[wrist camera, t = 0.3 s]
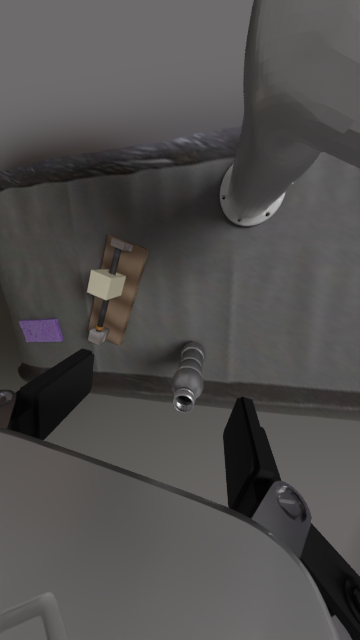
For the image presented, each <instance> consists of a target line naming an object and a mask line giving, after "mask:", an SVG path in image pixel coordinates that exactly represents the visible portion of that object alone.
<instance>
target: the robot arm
mask: <svg viewBox="0 0 360 640" xmlns="http://www.w3.org/2000/svg"><path fill="white" fill-rule="evenodd" d="M243 80H244V81H243V88H244V89H243V90H244V91H243V93H244V117H243V123H242V128H241V132H240V137H239V141H238V146H237V151H236V155H235V160H234V163H233V164H232V165H231V166H230V168H229V169H228V171H227V172H226V174H225V176H224V178H223V180H222V184H221V188H220V205H221V208H222V211H223V212H224V214H225V216H226V217H227V218H228V219H229V220H230V221H231V222H233V223H234V224H236V225H239V226H243V227H250V226H256V225H258V224H261V223H263V222H264V221H266V220H267V219H269V218H270V217H271V216H272V215H273V214H274V213H275V212H276V211H277V209H278V208H279V207H280V205H281V203H282V201H283V199H284V196H285V193H286V191H287V190H288V189H289V188H290V187H291V186H292V185H293V184H294V183H295V182H296V181H297V180H298V179H299V178H300V177H301V176H302V174H303V173H304V172H305V171H306V170H307V169H308V168H309V167H310V166H311V165H312V164H313V163H314V161H315V160H316V159H317V157H318V156H319V154H320V152H326V153H328V154H330V155H332V156H334V157H336V158H339V159H341V160H343V161H345V162H347V163H349V164H351V165H353V166H355V167H358V168H360V0H254V2H253V6H252V11H251V16H250V22H249V28H248V35H247V41H246V49H245V59H244V79H243ZM222 198H225V199H224V200H223V199H222ZM266 214H267V215H268V216H266ZM238 220H240V222H238ZM93 363H94V354H92V351H90V350H86V349H81V350H79V351H77V352H76V353H74V354H73V355H71V356H70V357H68V358H66V359H65V360H63V361H62V362H60V363H59V364H57V365H56V366H54V367H52V368H51V369H49V370H48V371H46V372H45V373H43V374H41V375H40V376H38V377H37V378H35V379H34V380H32V381H30V382H29V383H27V384H26V385H24V386H23V387H21V388H20V390H19V391H17V392H16V393H15V391H12V390H9V389H1V390H0V640H360V576H359V575H358V574H357V573H356V572H355V571H354V570H353V569H352V568H351V566H350V565H349V564H348V563H347V562H346V561H345V560H344V559H343V558H342V556H341V555H340V554H339V553H338V552H337V551H336V550H335V549H334V548H333V547H332V545H331V544H330V543H329V542H328V541H327V540H326V539H325V538H324V537H323V536H322V534H321V533H320V532H319V531H318V530H317V529H316V528H315V527H314V526H313V525H312V523H311V519H312V517H311V513H310V510H309V508H308V505H307V503H306V502H305V500H304V499H303V497H302V496H301V495H300V493H299V492H298V491H297V490H296V489H295V488H293V487H292V486H291V485H289V484H288V483H286V482H283V481H281V478H280V475H279V472H278V469H277V466H276V463H275V460H274V457H273V454H272V451H271V448H270V445H269V442H268V439H267V436H266V433H265V430H264V429H263V428H262V427H260V424H259V420H258V417H257V414H256V410H255V407H254V404H253V401H252V399H249V398H245V397H241V398H238V399H237V401H236V403H235V405H234V408H233V410H232V413H231V415H230V418H229V420H228V423H227V425H226V427H225V430H224V434H223V440H224V454H225V468H226V482H227V494H228V506H229V508H228V507H225V506H223V505H221V504H218V503H215V502H213V501H210V500H207V499H205V498H202V497H200V496H197V495H194V494H192V493H189V492H187V491H184V490H181V489H178V488H176V487H173V486H170V485H167V484H164V483H162V482H159V481H156V480H154V479H151V478H148V477H145V476H142V475H140V474H137V473H134V472H131V471H129V470H126V469H123V468H120V467H118V466H115V465H112V464H109V463H106V462H104V461H101V460H98V459H95V458H92V457H90V456H86V455H84V454H81V453H78V452H75V451H72V450H70V449H67V448H64V447H61V446H58V445H55V444H52V443H50V442H47V441H43V440H44V439H45V438H46V437H47V436H48V435H49V434H50V433H51V432H52V431H53V430H54V429H55V428H56V427H57V426H58V425H59V424H60V423H61V422H62V421H63V419H64V418H66V416H67V415H68V414H69V413H70V412H71V411H72V410H73V409H74V408H75V407H76V406H77V405H78V404H79V403H80V402H81V401H82V400H83V399H84V398H85V397H86V396H87V395H88V394H89V392H90V390H91V387H92V375H93Z"/></svg>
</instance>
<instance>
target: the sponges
mask: <svg viewBox="0 0 360 640" xmlns="http://www.w3.org/2000/svg"><path fill="white" fill-rule="evenodd" d="M19 323H20V326H21V328H22V329H23V333H24V336H25V339H26V342H36V341H37V342H59V341H62V339H63V336H62V333H61V330H60V328H59V324H58V320H57V319H40V320H22V321H19Z"/></svg>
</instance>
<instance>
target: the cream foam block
mask: <svg viewBox="0 0 360 640" xmlns="http://www.w3.org/2000/svg"><path fill="white" fill-rule="evenodd" d="M109 272H110V269H101V270H91V274H90V279H89V284H88V289H87V292H88V293H90V294H92V295H95V296H97V297H99V298H102V299H104V300H109V299H112V298H115V297H118V296H121V294H122V290H123V286H124V283H125V279H126V276H124V275H122V274H119V273H117V272H116V275H112V274H110V273H109Z"/></svg>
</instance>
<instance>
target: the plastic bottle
mask: <svg viewBox="0 0 360 640" xmlns="http://www.w3.org/2000/svg"><path fill="white" fill-rule="evenodd" d="M205 357H206V354H205V350H204V348H203V346H202V345H201V344H199V343H197V342H189V343H187V344H186V345H185V346H184V347H183V349H182V351H181V361H180V365H179V367H178V369H177V371H176V372H175V374H174V376H173V378H172V389H173V392H174V393H175V394H174V400H173V405H174V407H175V408H176V409H177V410H178V411H180V412H183V413H187V412H190V411H191V410H192V409H193V407H194V402H195V399H196V398H198V397H199V396H200V394H201V392H202V390H203V377H202V366H203V363H204V361H205Z"/></svg>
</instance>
